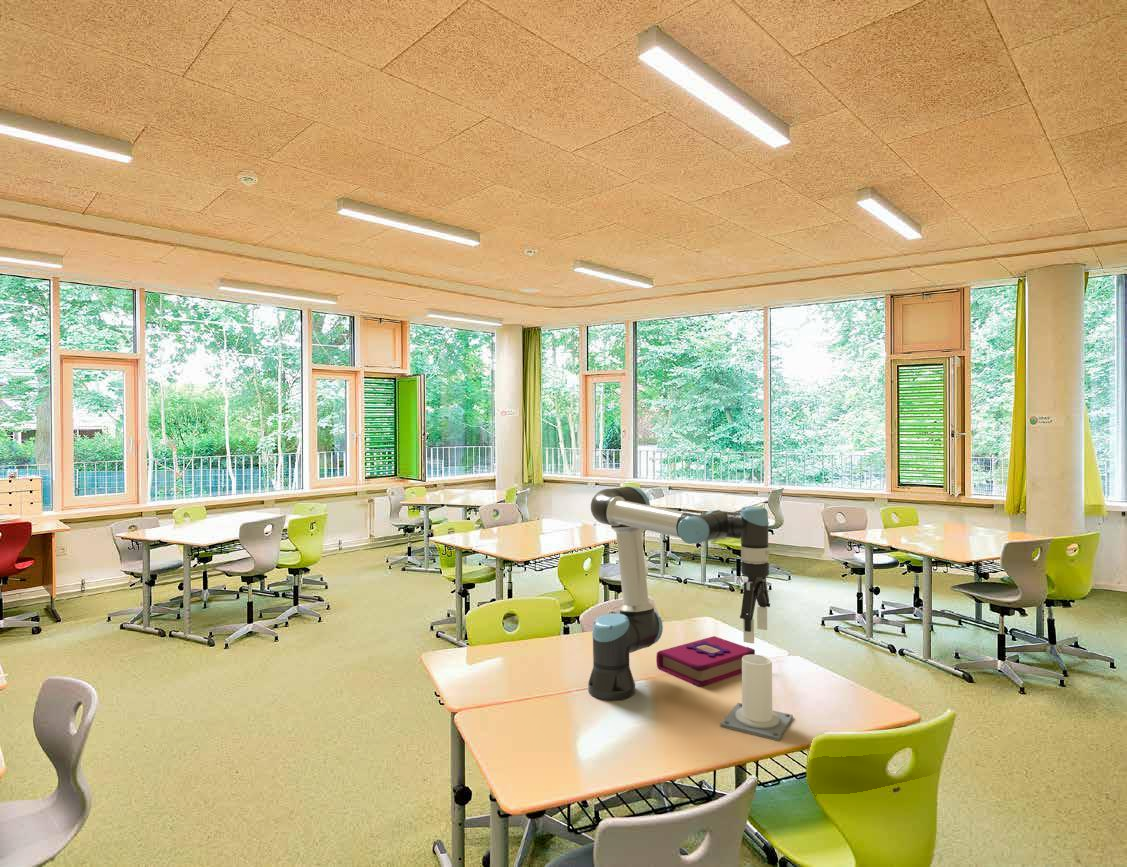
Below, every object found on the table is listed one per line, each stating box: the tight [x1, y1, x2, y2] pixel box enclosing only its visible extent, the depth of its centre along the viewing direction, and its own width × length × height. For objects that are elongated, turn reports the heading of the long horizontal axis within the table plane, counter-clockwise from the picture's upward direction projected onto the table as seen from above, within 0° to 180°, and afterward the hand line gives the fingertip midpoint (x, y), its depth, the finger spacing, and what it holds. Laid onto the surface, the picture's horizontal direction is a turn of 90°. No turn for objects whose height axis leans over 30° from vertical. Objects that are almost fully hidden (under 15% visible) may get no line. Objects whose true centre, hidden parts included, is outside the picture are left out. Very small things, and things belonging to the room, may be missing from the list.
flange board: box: [720, 702, 794, 741], centre depth 179 cm, size 16×16×2 cm
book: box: [655, 635, 756, 688], centre depth 220 cm, size 21×28×8 cm
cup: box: [741, 654, 773, 722], centre depth 179 cm, size 8×8×16 cm
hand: (755, 635), depth 179 cm, fingers open, 13 cm apart
